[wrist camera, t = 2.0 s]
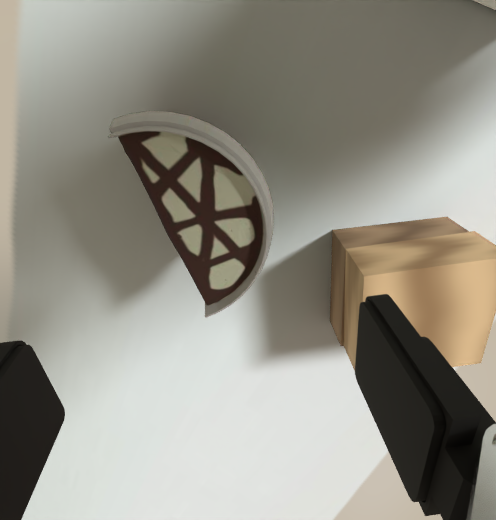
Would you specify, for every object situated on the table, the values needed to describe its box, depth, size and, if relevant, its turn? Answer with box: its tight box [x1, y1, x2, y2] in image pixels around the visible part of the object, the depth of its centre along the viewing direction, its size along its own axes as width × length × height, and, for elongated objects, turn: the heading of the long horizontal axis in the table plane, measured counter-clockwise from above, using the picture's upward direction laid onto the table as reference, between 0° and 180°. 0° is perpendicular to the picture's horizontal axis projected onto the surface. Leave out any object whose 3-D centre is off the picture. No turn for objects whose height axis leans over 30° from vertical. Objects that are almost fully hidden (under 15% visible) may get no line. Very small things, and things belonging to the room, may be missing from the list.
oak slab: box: [344, 231, 496, 370], centre depth 28 cm, size 10×10×4 cm
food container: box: [108, 111, 274, 317], centre depth 23 cm, size 12×6×10 cm, turn 20°
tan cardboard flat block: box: [330, 217, 469, 346], centre depth 31 cm, size 10×10×4 cm
